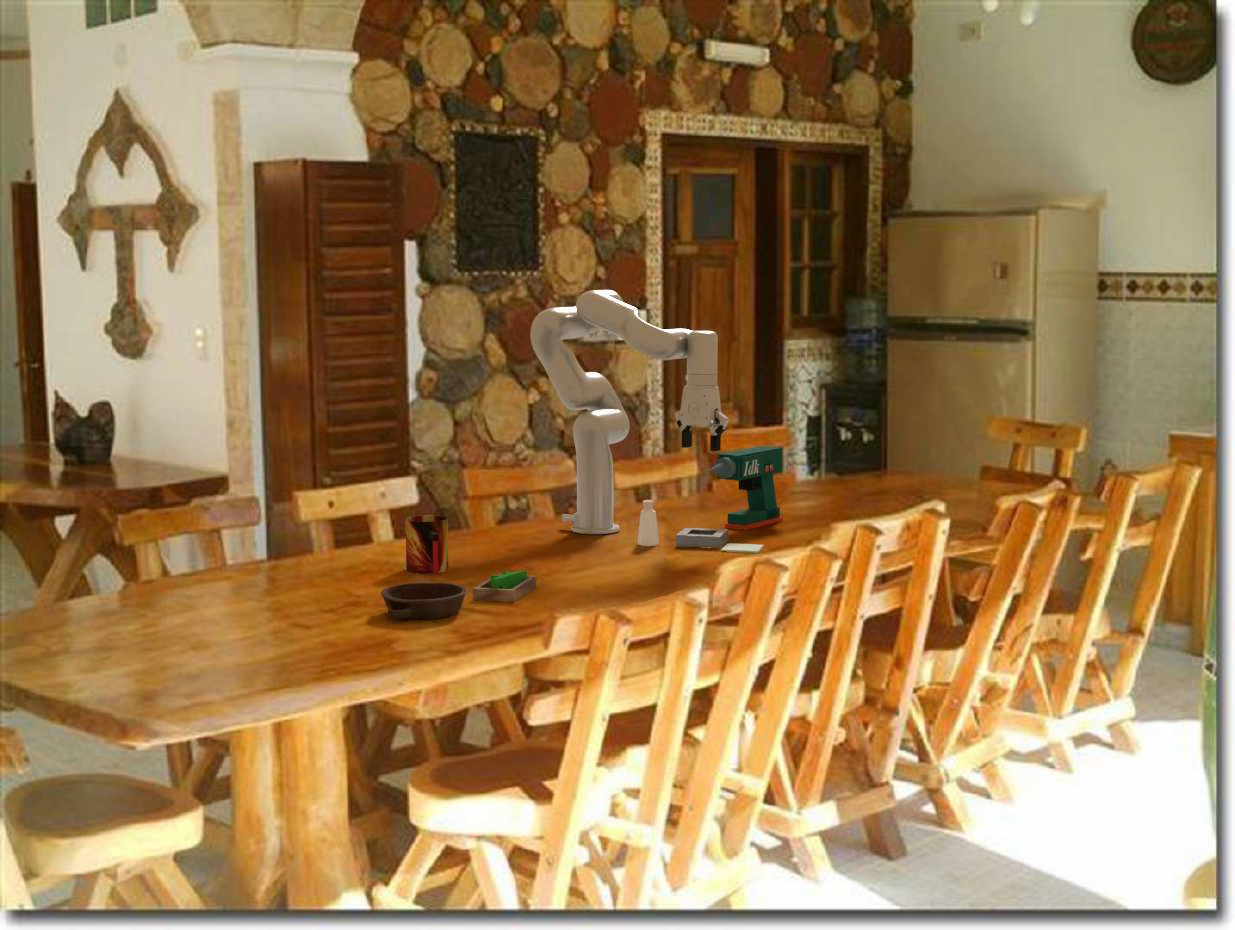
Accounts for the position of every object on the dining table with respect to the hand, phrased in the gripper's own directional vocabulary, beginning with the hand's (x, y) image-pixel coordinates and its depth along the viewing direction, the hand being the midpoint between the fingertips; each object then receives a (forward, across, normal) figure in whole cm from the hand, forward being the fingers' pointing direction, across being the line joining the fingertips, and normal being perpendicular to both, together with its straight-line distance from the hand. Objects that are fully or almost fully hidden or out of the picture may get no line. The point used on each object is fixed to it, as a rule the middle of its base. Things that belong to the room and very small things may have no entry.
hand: (700, 449), depth 419 cm
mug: (+24, -17, -71) cm, 77 cm away
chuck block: (+23, +3, -2) cm, 24 cm away
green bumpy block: (+24, +14, -76) cm, 81 cm away
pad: (+23, +15, -1) cm, 28 cm away
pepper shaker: (+24, -6, -12) cm, 27 cm away
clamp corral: (+24, +13, -76) cm, 81 cm away
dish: (+24, +16, -100) cm, 104 cm away
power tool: (+24, -6, +23) cm, 34 cm away
